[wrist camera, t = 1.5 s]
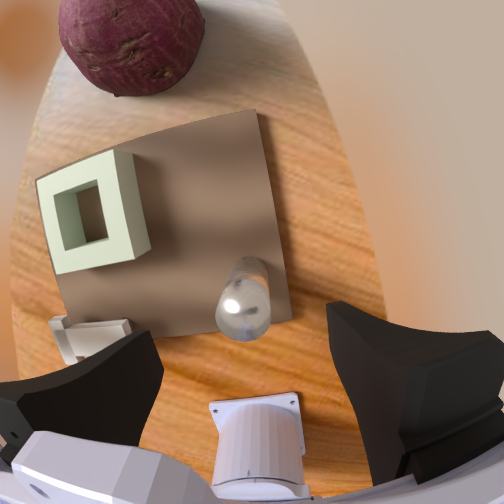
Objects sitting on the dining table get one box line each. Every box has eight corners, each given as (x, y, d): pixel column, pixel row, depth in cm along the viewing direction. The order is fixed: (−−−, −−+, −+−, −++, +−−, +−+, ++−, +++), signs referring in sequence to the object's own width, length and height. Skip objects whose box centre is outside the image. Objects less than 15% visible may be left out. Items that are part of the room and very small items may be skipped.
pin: (270, 288, 21) (275, 337, 14) (234, 294, 21) (222, 344, 14) (264, 252, 20) (265, 287, 13) (226, 259, 20) (209, 296, 13)
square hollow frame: (151, 248, 20) (134, 258, 17) (77, 264, 21) (56, 274, 18) (132, 153, 19) (112, 149, 16) (59, 180, 19) (36, 180, 16)
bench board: (292, 320, 22) (298, 346, 18) (85, 342, 23) (64, 364, 20) (255, 112, 19) (254, 95, 15) (41, 178, 20) (11, 180, 16)
